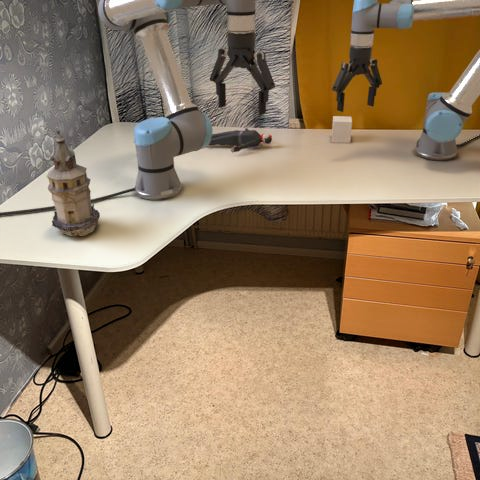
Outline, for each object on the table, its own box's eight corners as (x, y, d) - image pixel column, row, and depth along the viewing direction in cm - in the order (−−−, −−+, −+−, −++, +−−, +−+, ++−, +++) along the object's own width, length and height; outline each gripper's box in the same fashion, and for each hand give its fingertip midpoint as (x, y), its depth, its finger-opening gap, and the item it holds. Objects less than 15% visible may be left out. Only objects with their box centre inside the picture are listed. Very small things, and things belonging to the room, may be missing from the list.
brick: (349, 136, 224) (351, 116, 220) (350, 142, 217) (352, 122, 213) (331, 136, 225) (333, 116, 221) (331, 142, 218) (333, 121, 214)
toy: (206, 121, 227) (276, 121, 221) (207, 135, 230) (276, 136, 224) (189, 141, 205) (266, 142, 199) (190, 156, 208) (267, 158, 202)
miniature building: (80, 214, 164) (63, 117, 149) (111, 225, 157) (96, 125, 142) (44, 231, 154) (22, 130, 140) (75, 244, 147) (55, 139, 133)
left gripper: (289, 33, 139) (286, 113, 150) (211, 26, 151) (214, 100, 162) (274, 37, 134) (272, 120, 144) (195, 29, 146) (198, 106, 156)
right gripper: (382, 41, 190) (375, 101, 200) (324, 48, 180) (320, 110, 190) (396, 44, 184) (389, 105, 194) (338, 51, 174) (333, 115, 184)
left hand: (241, 110), depth 153 cm, fingers open, 13 cm apart
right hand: (355, 108), depth 192 cm, fingers open, 13 cm apart
